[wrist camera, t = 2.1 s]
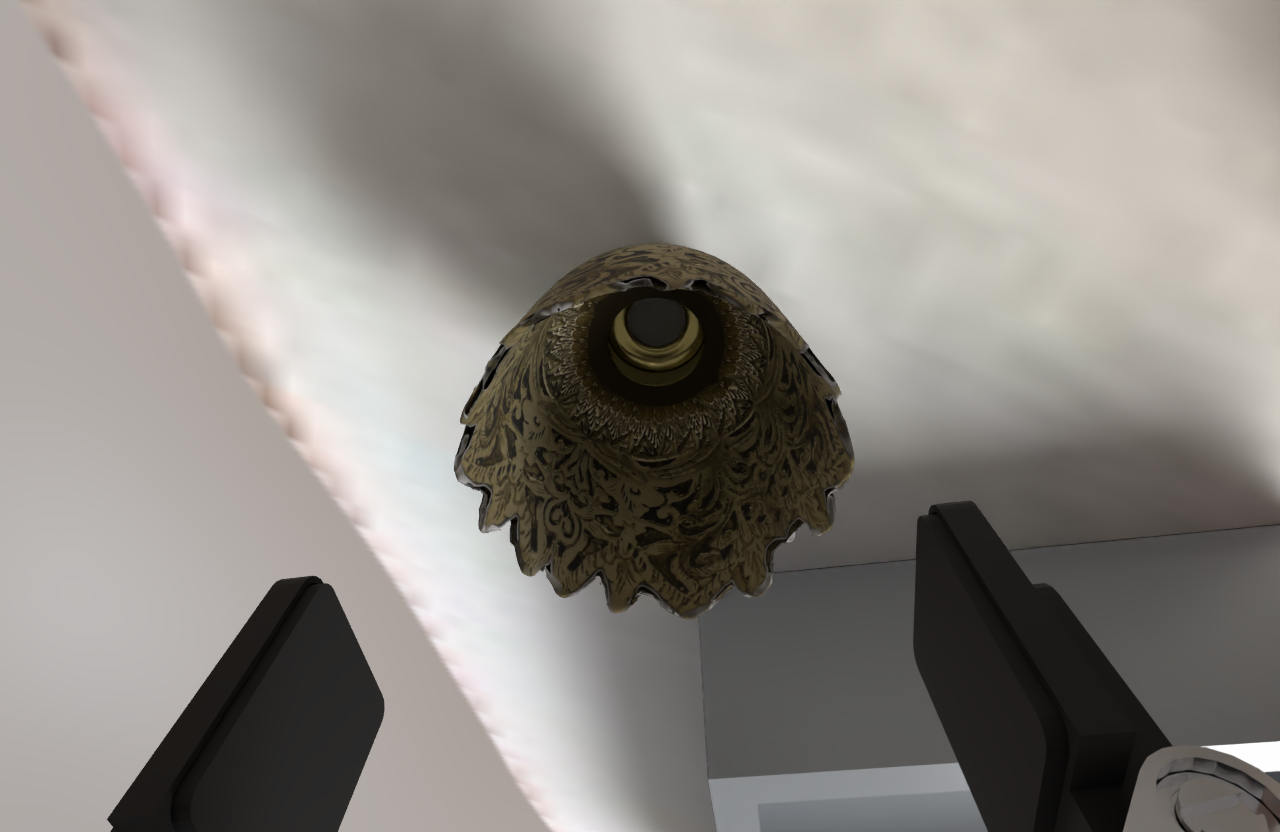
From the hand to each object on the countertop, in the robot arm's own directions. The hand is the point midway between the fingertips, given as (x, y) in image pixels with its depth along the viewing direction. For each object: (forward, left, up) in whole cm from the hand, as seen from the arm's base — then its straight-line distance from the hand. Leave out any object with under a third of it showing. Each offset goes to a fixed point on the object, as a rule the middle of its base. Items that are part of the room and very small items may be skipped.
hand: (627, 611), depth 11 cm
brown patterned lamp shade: (-1, 0, -11) cm, 11 cm away
